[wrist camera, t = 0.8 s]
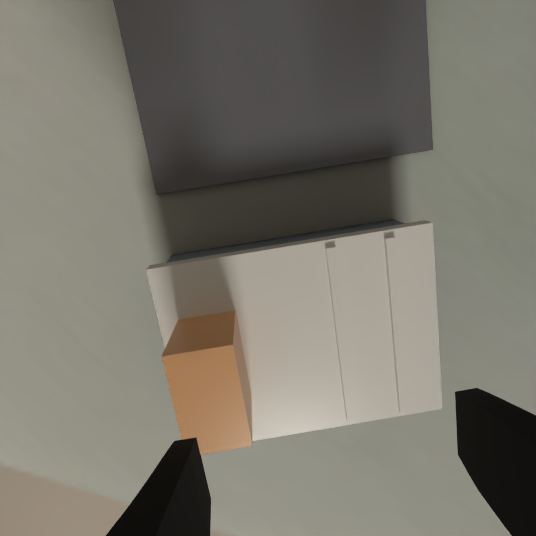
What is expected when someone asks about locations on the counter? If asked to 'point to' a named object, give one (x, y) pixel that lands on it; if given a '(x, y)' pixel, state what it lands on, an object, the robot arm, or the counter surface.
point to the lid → (300, 335)
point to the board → (275, 85)
